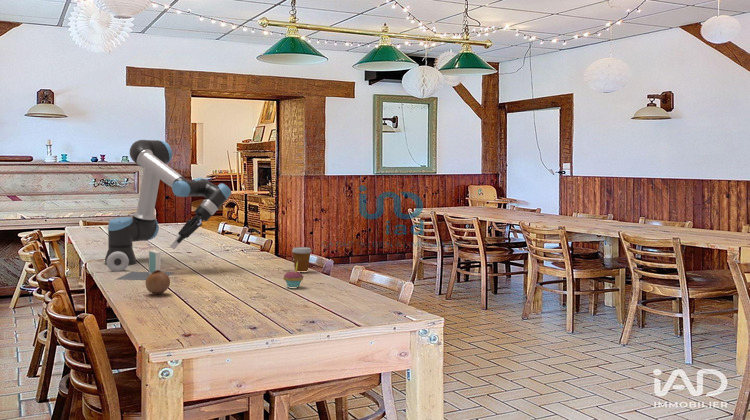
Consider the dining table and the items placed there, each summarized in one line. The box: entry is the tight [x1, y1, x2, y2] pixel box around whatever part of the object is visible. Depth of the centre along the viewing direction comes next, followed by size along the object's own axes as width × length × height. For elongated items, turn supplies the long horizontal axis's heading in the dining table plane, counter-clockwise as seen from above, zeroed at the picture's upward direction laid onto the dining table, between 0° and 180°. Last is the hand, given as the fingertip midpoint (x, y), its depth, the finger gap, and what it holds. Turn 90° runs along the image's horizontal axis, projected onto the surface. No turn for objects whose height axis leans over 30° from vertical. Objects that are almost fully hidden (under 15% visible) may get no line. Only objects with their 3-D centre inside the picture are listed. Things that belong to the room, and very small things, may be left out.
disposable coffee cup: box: [291, 246, 312, 271], centre depth 340 cm, size 10×10×12 cm
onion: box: [145, 269, 171, 295], centre depth 276 cm, size 10×9×10 cm
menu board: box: [148, 249, 161, 274], centre depth 318 cm, size 2×10×11 cm, turn 36°
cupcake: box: [282, 261, 304, 287], centre depth 298 cm, size 9×8×12 cm
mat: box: [115, 271, 175, 281], centre depth 316 cm, size 22×20×1 cm
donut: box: [106, 251, 129, 272], centre depth 327 cm, size 10×4×10 cm, turn 114°
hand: (171, 247), depth 323 cm, fingers closed
